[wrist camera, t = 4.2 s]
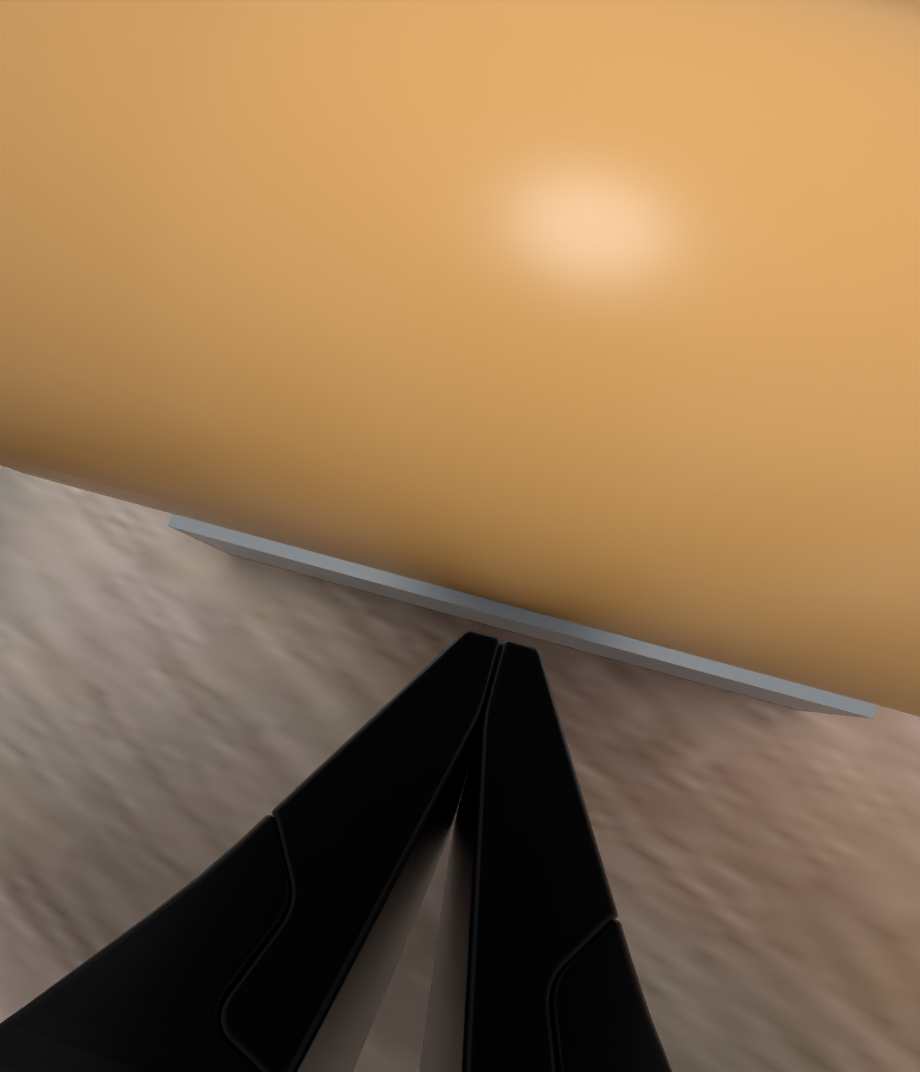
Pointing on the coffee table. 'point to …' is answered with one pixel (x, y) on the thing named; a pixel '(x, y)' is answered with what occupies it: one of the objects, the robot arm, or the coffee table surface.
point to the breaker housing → (524, 621)
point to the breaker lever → (492, 300)
